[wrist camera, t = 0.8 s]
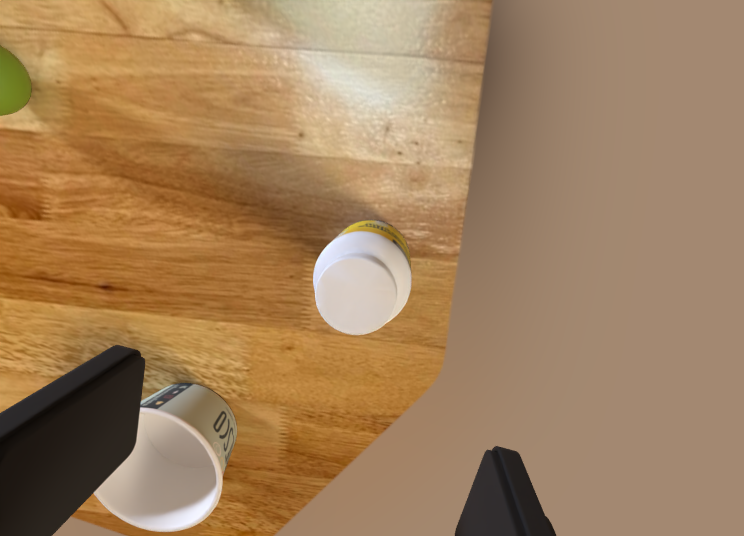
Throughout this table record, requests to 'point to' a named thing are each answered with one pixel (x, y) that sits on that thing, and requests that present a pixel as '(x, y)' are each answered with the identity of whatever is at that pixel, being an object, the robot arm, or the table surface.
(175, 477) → the food container
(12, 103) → the snail figurine
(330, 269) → the pill bottle
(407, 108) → the table surface
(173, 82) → the table surface
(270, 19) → the table surface
